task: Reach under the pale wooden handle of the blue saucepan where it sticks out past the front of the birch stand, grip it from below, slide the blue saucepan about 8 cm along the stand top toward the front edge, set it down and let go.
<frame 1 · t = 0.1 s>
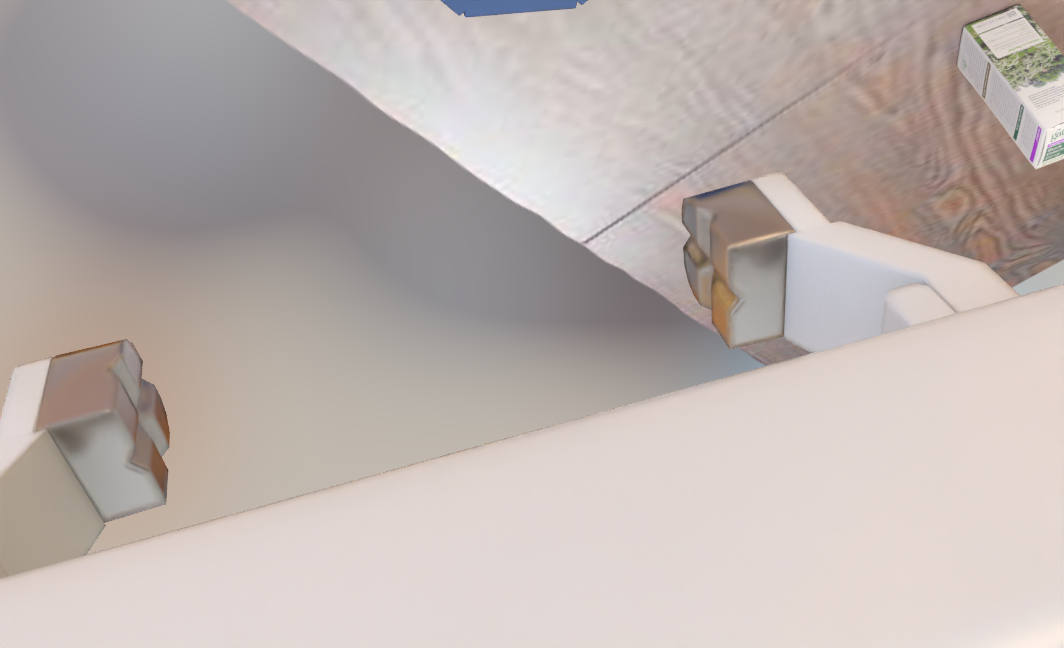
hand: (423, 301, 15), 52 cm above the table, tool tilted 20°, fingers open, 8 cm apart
syrup box: (985, 33, 95), on the table
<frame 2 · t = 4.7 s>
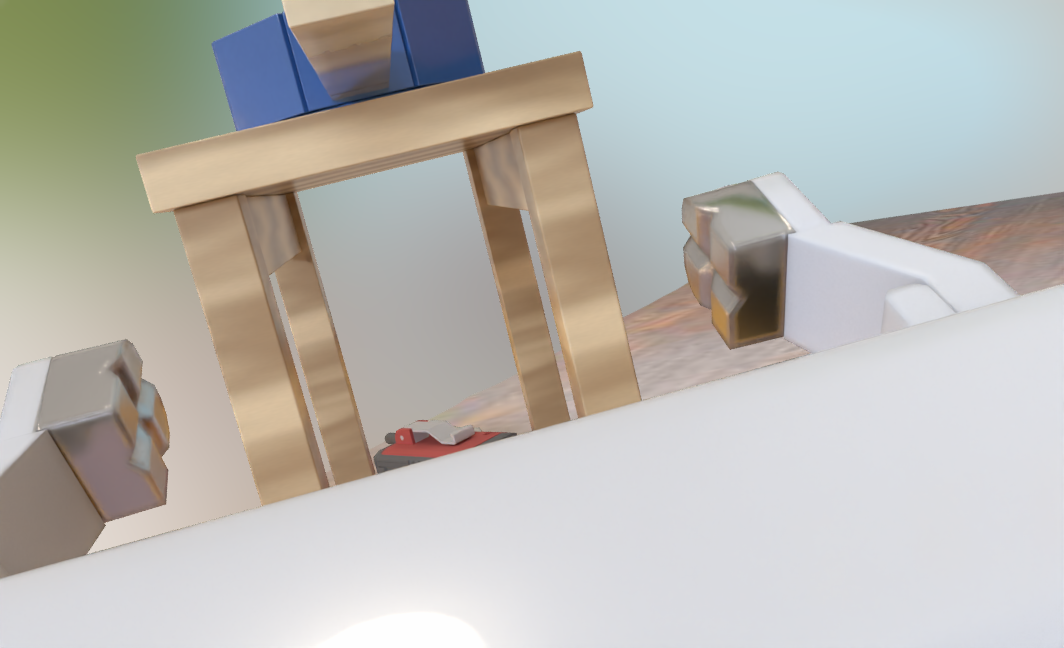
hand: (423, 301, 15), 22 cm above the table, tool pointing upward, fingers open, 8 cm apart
walkie-talkie: (436, 473, 82), on the table
blue saucepan: (370, 130, 46), point 26 cm above the table, touching stand
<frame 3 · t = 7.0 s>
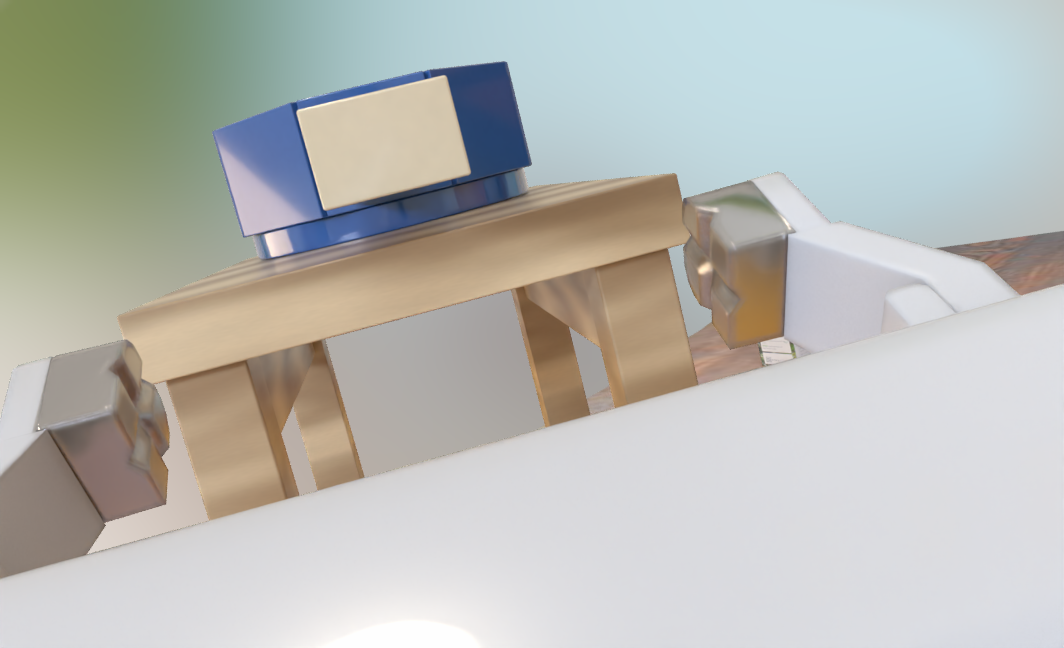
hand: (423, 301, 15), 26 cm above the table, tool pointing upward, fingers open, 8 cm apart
syrup box: (799, 362, 106), on the table
blue saucepan: (396, 225, 40), point 26 cm above the table, touching stand
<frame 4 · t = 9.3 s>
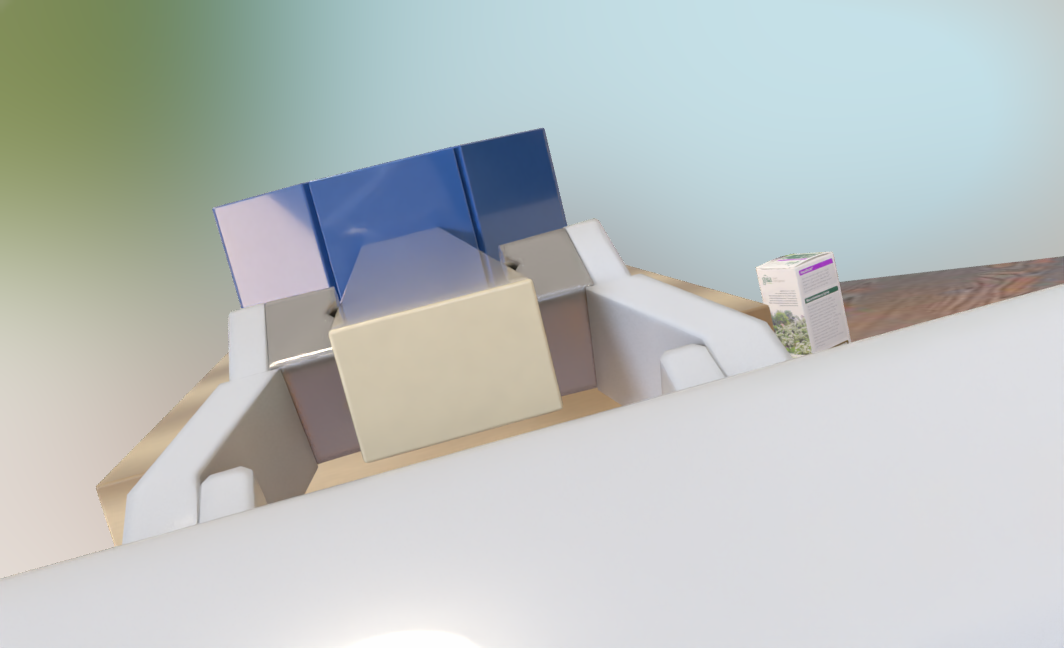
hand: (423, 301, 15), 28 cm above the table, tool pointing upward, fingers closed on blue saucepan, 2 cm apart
syrup box: (822, 396, 102), on the table
blue saucepan: (417, 305, 36), point 26 cm above the table, touching gripper, stand
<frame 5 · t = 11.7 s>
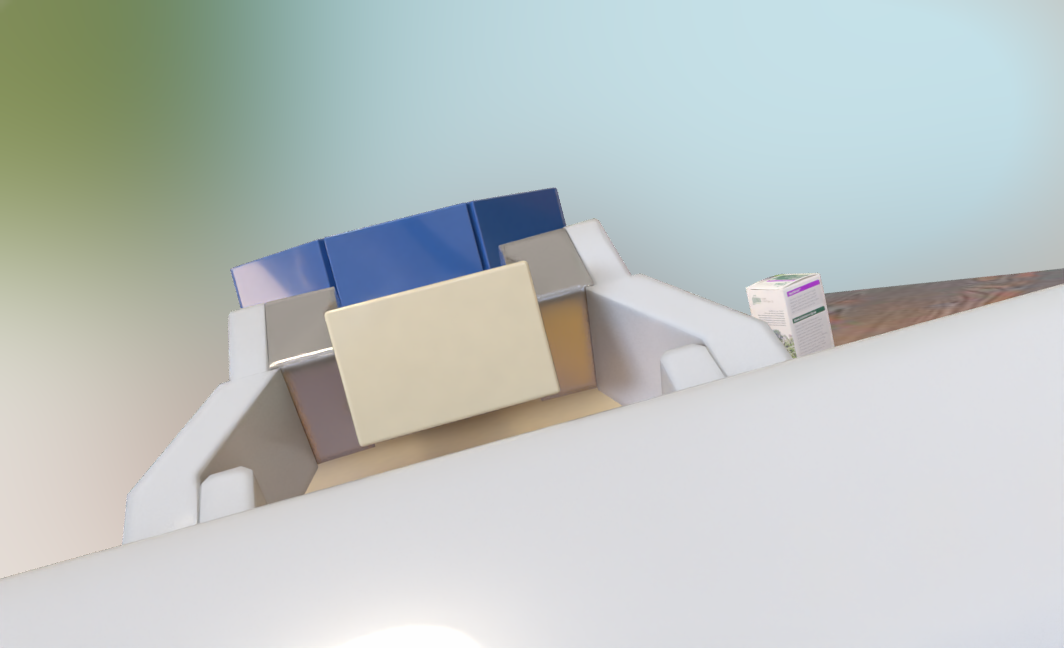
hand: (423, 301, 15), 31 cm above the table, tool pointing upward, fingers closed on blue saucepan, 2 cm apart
syrup box: (809, 411, 106), on the table
blue saucepan: (432, 366, 36), point 27 cm above the table, tilted 6°, touching gripper
when the fingers open (29 cm above the table, at t = 14.3 s): blue saucepan stays where it is, resting on stand.
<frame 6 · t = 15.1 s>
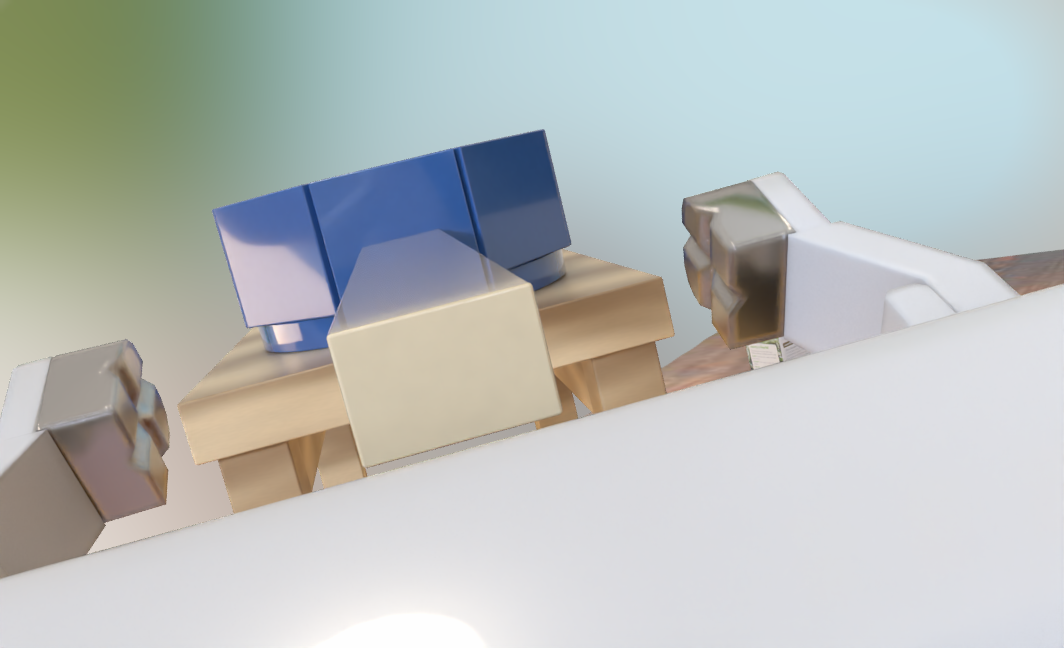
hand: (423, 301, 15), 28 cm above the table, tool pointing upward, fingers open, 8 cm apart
syrup box: (789, 383, 110), on the table
blue saucepan: (417, 307, 36), point 26 cm above the table, touching stand
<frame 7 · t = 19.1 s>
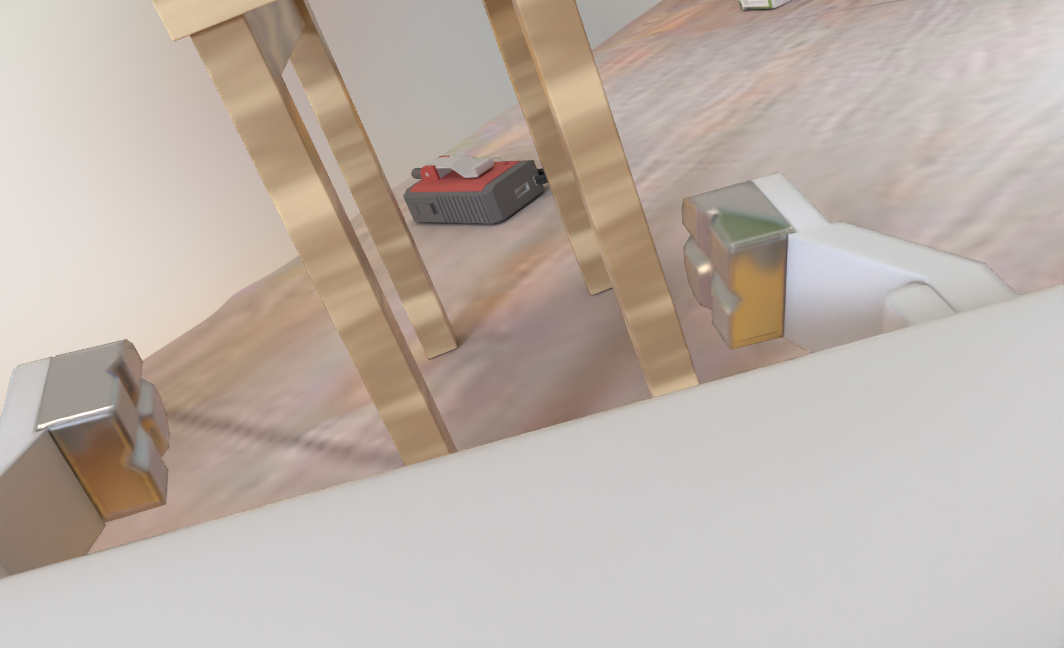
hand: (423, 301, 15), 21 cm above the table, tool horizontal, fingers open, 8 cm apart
syrup box: (774, 2, 111), on the table
walkie-talkie: (463, 203, 88), on the table
stand: (546, 388, 54), on the table
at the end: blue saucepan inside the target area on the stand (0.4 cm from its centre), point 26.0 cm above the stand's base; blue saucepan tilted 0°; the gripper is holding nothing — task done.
